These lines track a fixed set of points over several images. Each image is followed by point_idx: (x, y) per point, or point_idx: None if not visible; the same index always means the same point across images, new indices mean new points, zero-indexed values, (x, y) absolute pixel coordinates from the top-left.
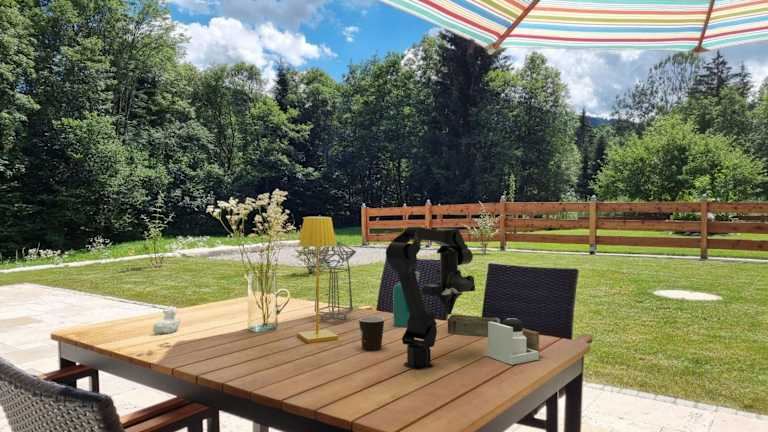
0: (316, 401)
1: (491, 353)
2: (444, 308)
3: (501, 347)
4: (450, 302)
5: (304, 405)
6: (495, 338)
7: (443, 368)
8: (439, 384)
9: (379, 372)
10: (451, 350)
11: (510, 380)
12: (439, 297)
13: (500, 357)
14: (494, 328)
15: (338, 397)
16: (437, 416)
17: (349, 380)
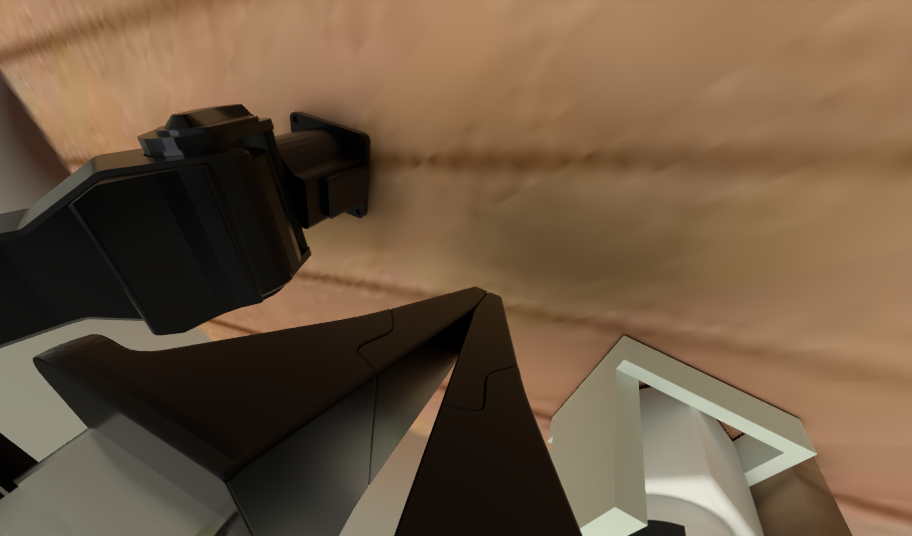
0: (60, 131)
1: (603, 370)
2: (433, 298)
3: (569, 437)
4: (392, 443)
5: (43, 128)
6: (585, 448)
7: (380, 252)
8: (295, 292)
9: (202, 98)
10: (637, 152)
11: (433, 413)
12: (259, 348)
13: (576, 398)
14: (585, 496)
15: (97, 152)
16: (226, 336)
17: (117, 79)
